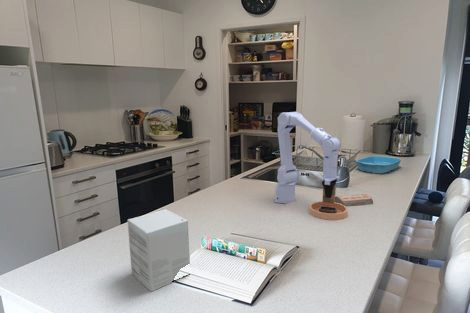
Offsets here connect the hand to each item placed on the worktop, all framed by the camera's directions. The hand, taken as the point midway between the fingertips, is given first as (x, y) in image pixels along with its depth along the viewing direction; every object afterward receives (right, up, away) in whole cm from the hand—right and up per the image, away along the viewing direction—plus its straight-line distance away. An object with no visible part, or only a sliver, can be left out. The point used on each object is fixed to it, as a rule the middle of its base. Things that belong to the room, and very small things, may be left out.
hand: (328, 196), depth 140 cm
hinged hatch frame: (0, -7, +1) cm, 8 cm away
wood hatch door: (0, -2, 0) cm, 3 cm away
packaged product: (+15, -6, +14) cm, 22 cm away
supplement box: (-63, -18, -43) cm, 79 cm away
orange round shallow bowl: (0, -8, +2) cm, 8 cm away
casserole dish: (+58, +8, +83) cm, 102 cm away
